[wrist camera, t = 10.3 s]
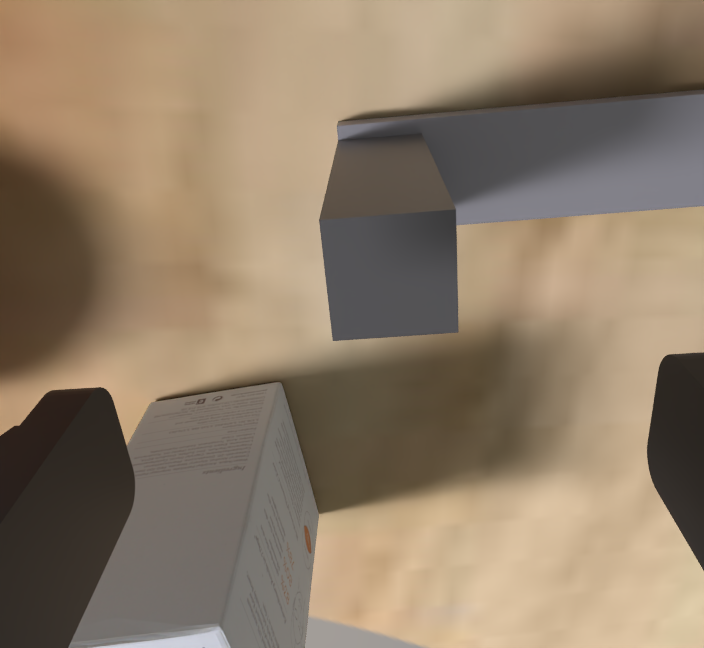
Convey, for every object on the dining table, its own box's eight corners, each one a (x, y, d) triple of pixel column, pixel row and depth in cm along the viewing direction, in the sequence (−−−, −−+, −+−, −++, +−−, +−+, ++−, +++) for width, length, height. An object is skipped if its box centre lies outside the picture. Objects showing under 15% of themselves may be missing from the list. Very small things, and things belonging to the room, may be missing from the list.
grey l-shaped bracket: (338, 121, 24) (316, 197, 14) (824, 78, 23) (1179, 127, 13) (348, 224, 26) (335, 359, 16) (801, 188, 25) (1098, 308, 15)
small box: (148, 399, 29) (2, 653, 18) (283, 377, 29) (225, 626, 17) (199, 532, 33) (106, 820, 21) (321, 516, 32) (294, 803, 20)
